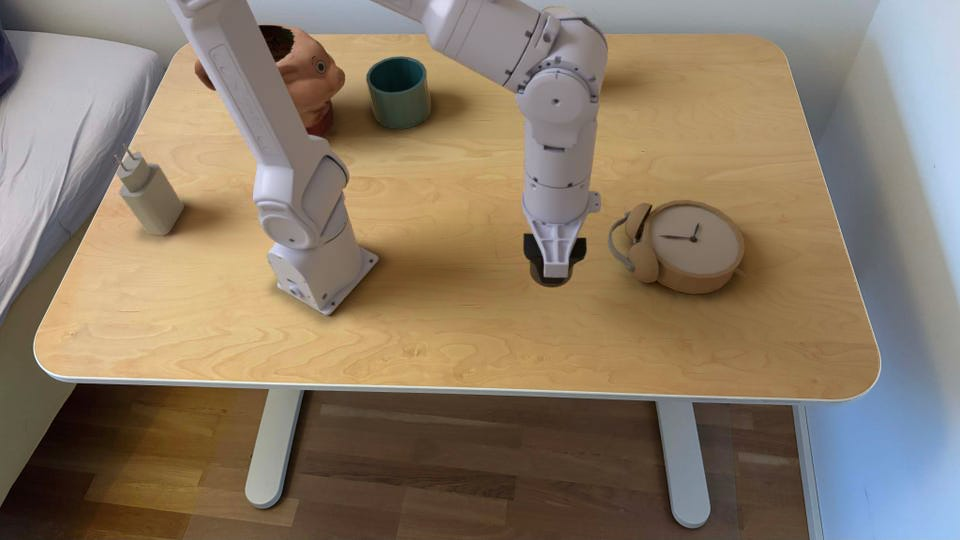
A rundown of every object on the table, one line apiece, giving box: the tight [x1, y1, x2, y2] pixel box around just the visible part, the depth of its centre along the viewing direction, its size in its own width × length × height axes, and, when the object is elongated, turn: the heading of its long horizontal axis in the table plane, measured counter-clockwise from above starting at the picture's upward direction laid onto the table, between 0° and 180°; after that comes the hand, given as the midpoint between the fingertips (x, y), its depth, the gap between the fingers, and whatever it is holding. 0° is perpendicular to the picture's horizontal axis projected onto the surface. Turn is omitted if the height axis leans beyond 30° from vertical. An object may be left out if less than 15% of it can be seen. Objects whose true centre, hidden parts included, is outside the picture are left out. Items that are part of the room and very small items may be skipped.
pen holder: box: [365, 55, 432, 130], centre depth 92 cm, size 8×8×6 cm
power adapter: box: [114, 143, 185, 236], centre depth 80 cm, size 3×5×12 cm, turn 169°
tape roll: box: [529, 260, 575, 289], centre depth 66 cm, size 4×4×3 cm
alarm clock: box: [607, 199, 747, 295], centre depth 76 cm, size 11×5×15 cm
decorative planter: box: [194, 23, 346, 138], centre depth 88 cm, size 20×12×14 cm, turn 90°
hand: (551, 260), depth 66 cm, fingers closed on tape roll, 4 cm apart
